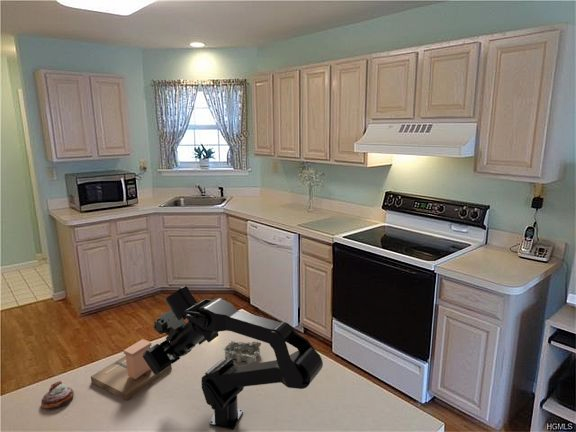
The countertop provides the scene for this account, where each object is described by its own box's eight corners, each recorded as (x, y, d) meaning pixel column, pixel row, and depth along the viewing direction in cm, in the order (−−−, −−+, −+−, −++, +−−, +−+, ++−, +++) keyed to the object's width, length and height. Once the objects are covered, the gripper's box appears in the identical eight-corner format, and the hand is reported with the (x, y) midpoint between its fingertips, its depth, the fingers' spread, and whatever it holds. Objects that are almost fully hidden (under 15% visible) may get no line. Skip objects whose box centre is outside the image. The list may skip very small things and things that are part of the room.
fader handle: (153, 367, 116) (151, 342, 114) (135, 380, 110) (132, 354, 108) (145, 364, 117) (142, 339, 115) (126, 376, 112) (123, 350, 110)
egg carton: (262, 353, 127) (262, 342, 126) (252, 367, 120) (252, 355, 119) (233, 346, 131) (232, 335, 130) (221, 359, 124) (221, 347, 123)
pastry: (65, 387, 111) (62, 372, 110) (81, 397, 107) (78, 381, 106) (35, 404, 105) (32, 388, 103) (50, 415, 101) (48, 398, 99)
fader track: (171, 368, 119) (171, 362, 119) (127, 400, 106) (126, 393, 105) (137, 354, 126) (136, 348, 126) (91, 382, 113) (90, 376, 112)
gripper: (199, 292, 108) (172, 318, 116) (144, 322, 92) (117, 350, 100) (223, 325, 106) (194, 350, 114) (171, 362, 91) (142, 387, 99)
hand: (163, 358), depth 107 cm, fingers closed
